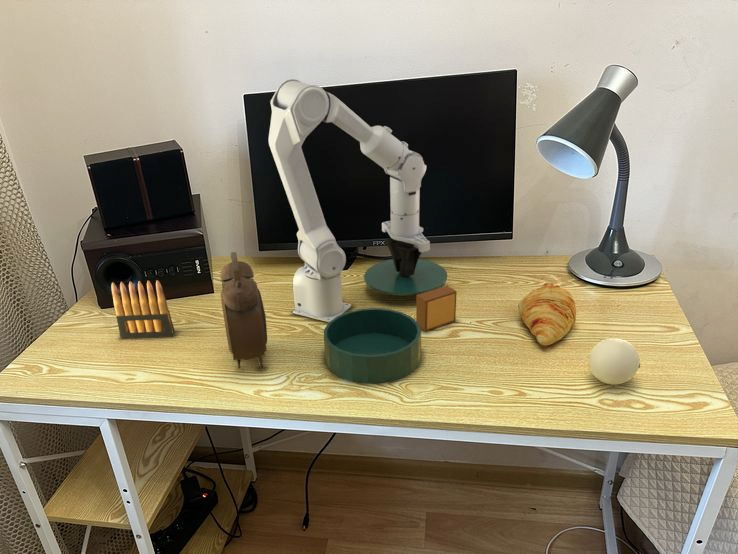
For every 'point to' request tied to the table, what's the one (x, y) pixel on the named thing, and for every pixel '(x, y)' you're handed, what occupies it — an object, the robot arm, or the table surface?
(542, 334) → the croissant
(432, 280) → the lid
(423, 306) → the tall brown block
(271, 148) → the robot arm
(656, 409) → the table surface
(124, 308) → the ammunition clip
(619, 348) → the cream white ovoid
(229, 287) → the alarm clock
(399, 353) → the pot
